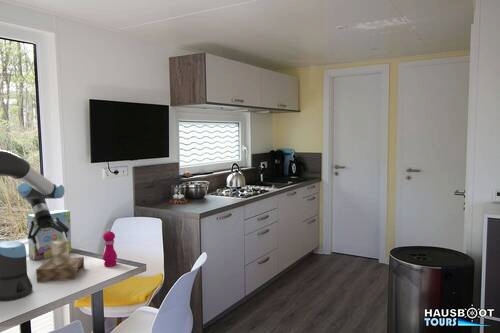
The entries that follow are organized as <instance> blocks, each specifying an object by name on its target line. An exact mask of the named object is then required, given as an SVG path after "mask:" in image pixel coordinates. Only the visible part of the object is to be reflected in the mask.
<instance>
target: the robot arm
mask: <svg viewBox="0 0 500 333" xmlns="http://www.w3.org/2000/svg"><path fill="white" fill-rule="evenodd" d="M0 176H1V177H11V178H12V179H15V180H20V181H21V183H19V184H18V186H17V189H16V191H17V193H18V194H19V195H20V197H22V198H24V199H25V201H27V202H28V203H29V204H30V206H31V209H32V212H33V214H34V215H35V219H36V222H34V221H32V222H31V228H30V231H29V234H28V233H27V239H31V240H32V241H33V243H34V244H36V246H37V250H39V249H40V245H39V241H38V238H37V236H36V235H37V234H38V232H39V231H40V230H41V228H43V229H45V228H49V227H51V228H54V229H55V230H57V231H59V232H61V233H62V237H63V240H66V241H67V233H66V232H68V230H69V228H68V227H66V226H65V225H64V224H63V223H62V222H61V221H60V220H59V218H56V219H52V218H51V214H50V209H49V206H48V203H47V201H46V199H51V200H52V199H54V200H55V199H63V197H64V196H65V192H66V191H65V186H63V184H58V183H57V184H54V183H53V182H52V181H51V180H49V179H48V178H46V177H45V176H43V174H41V173H40V172H38V171H37V170H35V169H34V168H33V167H31V164H30V163H29V161H27V160H26V159H24V157H21V156H19V155H18V154H15V153H13V152H11V151H7V150H3V149H0ZM53 222H55V223H56V224H57V225H56V224H55V223H53ZM35 225H38V226H39V227H38V228H37V230H36V231H35V232H34V234H33V235H31V234H32V231H33V227H34V226H35ZM59 226H60V227H59ZM26 250H27V249H26V245H25V243H23V242H22V241H18V240H8V241H7V240H2V241H0V302H7V301H8V302H9V301H14V300H18V299H22V298H25V297H26V296H28V295H29V296H30V294H31V293H32V292H33V291H34V290H33V284H32V281H31V280H30V277H29V276H28V264H27V251H26Z"/></svg>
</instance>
